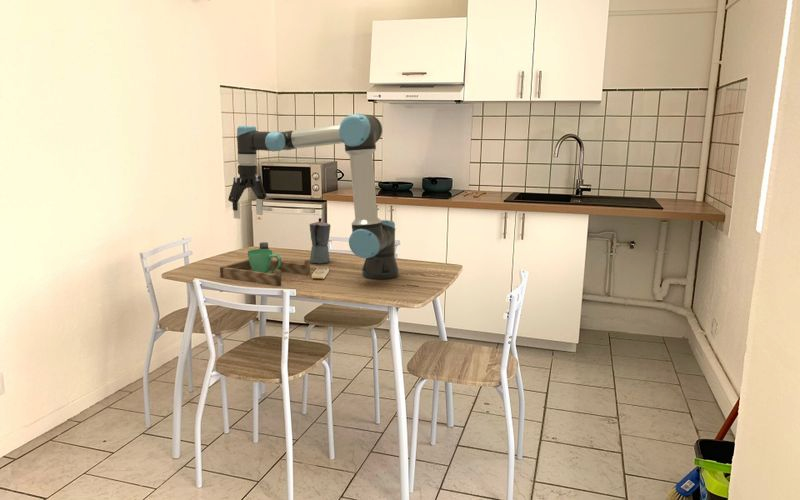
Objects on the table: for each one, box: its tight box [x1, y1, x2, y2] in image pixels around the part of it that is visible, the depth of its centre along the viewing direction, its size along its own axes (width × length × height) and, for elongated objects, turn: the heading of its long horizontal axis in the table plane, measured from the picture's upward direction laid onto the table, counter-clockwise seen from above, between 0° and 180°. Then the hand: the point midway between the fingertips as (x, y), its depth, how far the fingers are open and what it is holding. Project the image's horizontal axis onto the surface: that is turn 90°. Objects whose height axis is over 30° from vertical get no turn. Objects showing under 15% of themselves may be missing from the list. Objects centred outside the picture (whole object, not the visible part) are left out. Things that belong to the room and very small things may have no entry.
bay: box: [219, 241, 311, 287], centre depth 243 cm, size 29×25×10 cm
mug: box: [247, 248, 282, 274], centre depth 241 cm, size 15×10×10 cm
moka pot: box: [309, 217, 331, 264], centre depth 265 cm, size 10×15×20 cm, turn 179°
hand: (248, 216), depth 245 cm, fingers open, 13 cm apart
